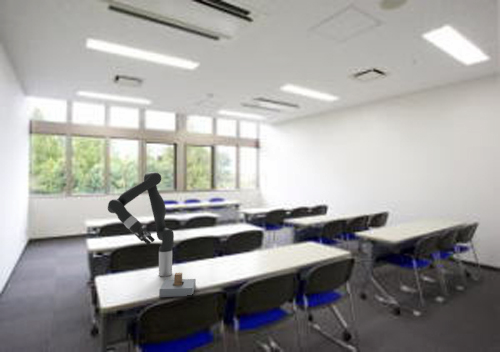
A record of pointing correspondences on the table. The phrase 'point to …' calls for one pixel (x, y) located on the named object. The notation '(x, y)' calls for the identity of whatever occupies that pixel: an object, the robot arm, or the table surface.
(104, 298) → the table surface
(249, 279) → the table surface
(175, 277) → the walnut peg
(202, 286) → the table surface
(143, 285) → the table surface
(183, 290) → the dock socket
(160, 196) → the robot arm
